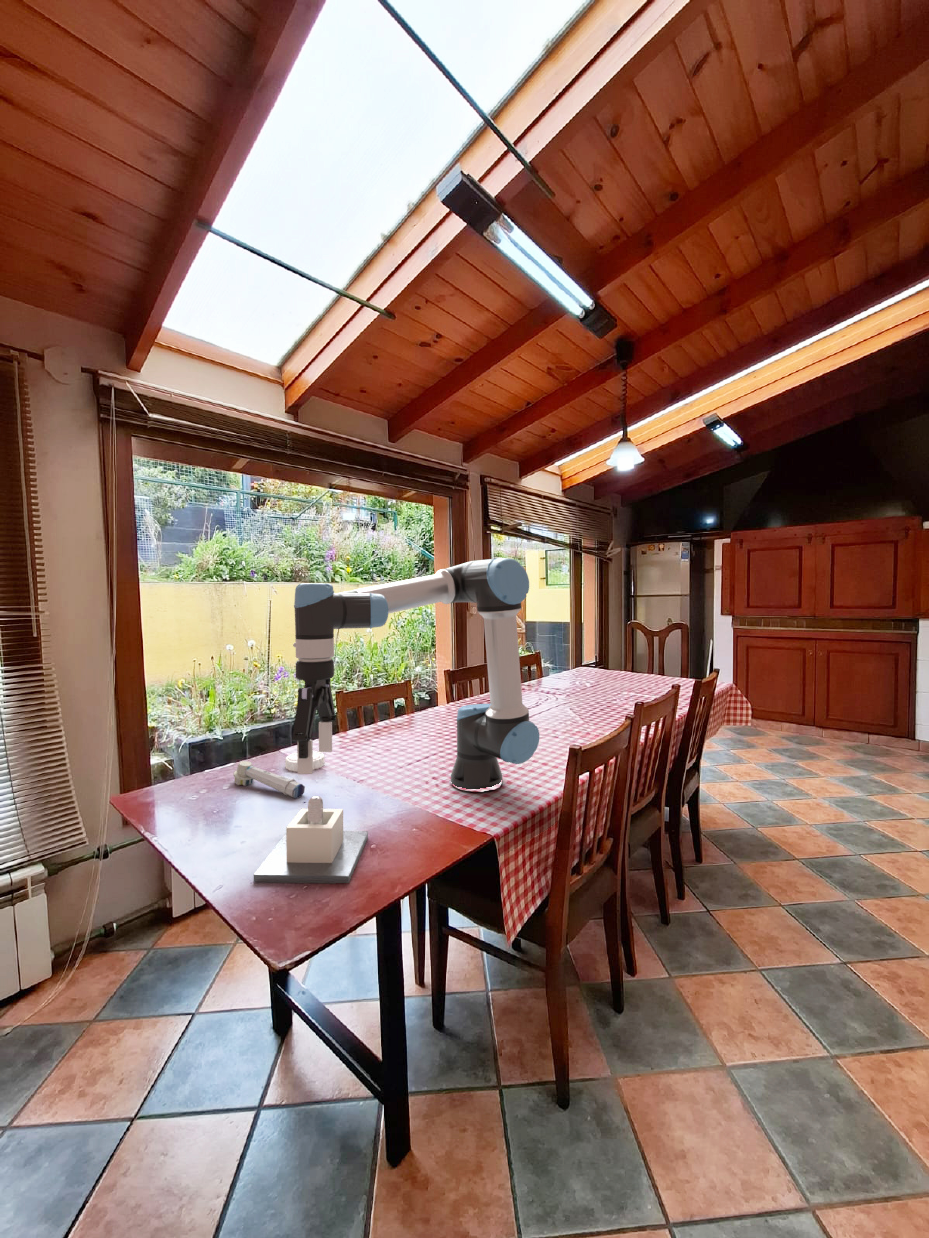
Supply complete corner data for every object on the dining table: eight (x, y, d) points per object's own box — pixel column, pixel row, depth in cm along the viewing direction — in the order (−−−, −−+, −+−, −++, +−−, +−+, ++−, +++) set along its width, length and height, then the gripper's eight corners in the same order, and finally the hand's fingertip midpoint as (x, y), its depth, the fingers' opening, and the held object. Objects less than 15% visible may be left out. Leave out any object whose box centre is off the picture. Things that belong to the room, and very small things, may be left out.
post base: (367, 837, 112) (367, 780, 112) (348, 883, 94) (348, 815, 94) (288, 836, 112) (287, 780, 112) (253, 882, 94) (253, 814, 94)
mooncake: (332, 764, 162) (332, 753, 162) (302, 775, 152) (301, 763, 152) (307, 757, 169) (307, 747, 168) (277, 767, 159) (277, 756, 158)
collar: (343, 840, 108) (343, 808, 107) (331, 862, 99) (331, 828, 98) (301, 840, 108) (301, 808, 107) (286, 862, 99) (286, 827, 98)
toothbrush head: (292, 787, 132) (230, 759, 143) (290, 810, 133) (228, 781, 144) (307, 780, 137) (246, 754, 148) (305, 803, 137) (244, 775, 149)
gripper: (315, 652, 114) (316, 743, 115) (272, 667, 89) (274, 784, 90) (348, 652, 114) (348, 743, 115) (314, 667, 89) (315, 784, 90)
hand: (316, 761), depth 102 cm, fingers open, 13 cm apart
